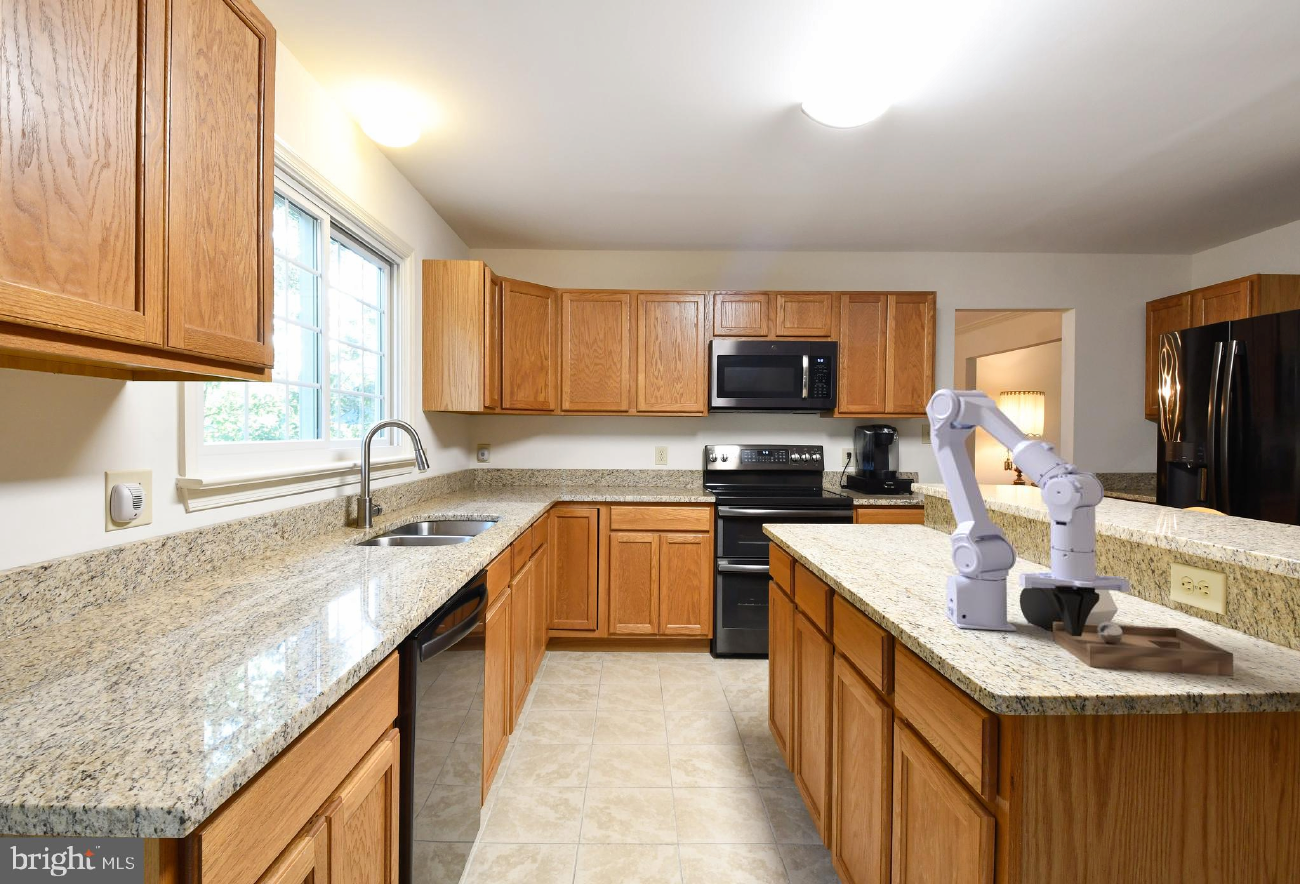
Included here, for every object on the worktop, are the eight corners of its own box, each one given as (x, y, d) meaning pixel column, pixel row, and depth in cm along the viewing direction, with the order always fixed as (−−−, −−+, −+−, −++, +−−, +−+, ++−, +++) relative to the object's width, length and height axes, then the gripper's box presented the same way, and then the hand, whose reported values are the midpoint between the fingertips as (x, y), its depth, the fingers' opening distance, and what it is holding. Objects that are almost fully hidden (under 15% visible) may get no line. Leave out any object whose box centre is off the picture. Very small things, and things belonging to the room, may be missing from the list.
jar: (1126, 622, 97) (1063, 628, 96) (1091, 631, 104) (1032, 637, 103) (1101, 571, 101) (1040, 577, 100) (1068, 584, 108) (1011, 589, 107)
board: (1090, 666, 83) (1089, 645, 83) (1052, 640, 94) (1052, 621, 94) (1233, 676, 80) (1233, 653, 80) (1177, 647, 90) (1177, 628, 90)
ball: (1104, 645, 86) (1104, 625, 86) (1092, 638, 90) (1092, 618, 90) (1128, 647, 86) (1127, 626, 86) (1115, 639, 89) (1115, 619, 89)
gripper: (1033, 552, 86) (1034, 640, 86) (1142, 555, 83) (1142, 646, 83) (1013, 544, 93) (1014, 625, 93) (1113, 546, 90) (1114, 630, 90)
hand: (1073, 634), depth 89 cm, fingers closed
